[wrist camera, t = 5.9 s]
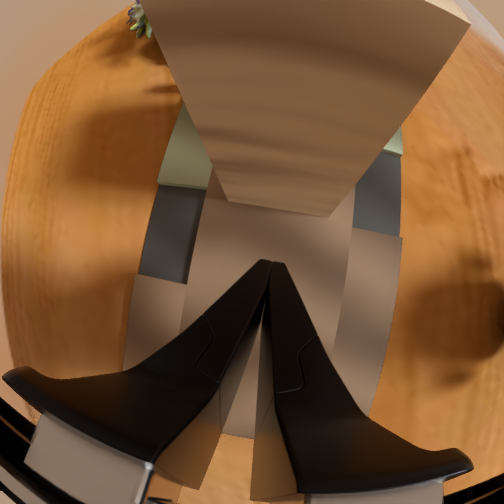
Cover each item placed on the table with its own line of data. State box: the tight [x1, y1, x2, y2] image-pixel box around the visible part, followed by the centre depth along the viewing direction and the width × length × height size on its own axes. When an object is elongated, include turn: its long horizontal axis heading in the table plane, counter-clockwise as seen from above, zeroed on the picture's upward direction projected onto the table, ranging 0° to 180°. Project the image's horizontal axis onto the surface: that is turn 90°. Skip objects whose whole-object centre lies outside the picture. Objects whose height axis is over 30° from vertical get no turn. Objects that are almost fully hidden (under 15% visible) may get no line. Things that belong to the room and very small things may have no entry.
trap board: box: [123, 101, 403, 439], centre depth 15 cm, size 24×16×4 cm, turn 170°
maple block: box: [139, 0, 471, 218], centre depth 10 cm, size 8×6×14 cm
